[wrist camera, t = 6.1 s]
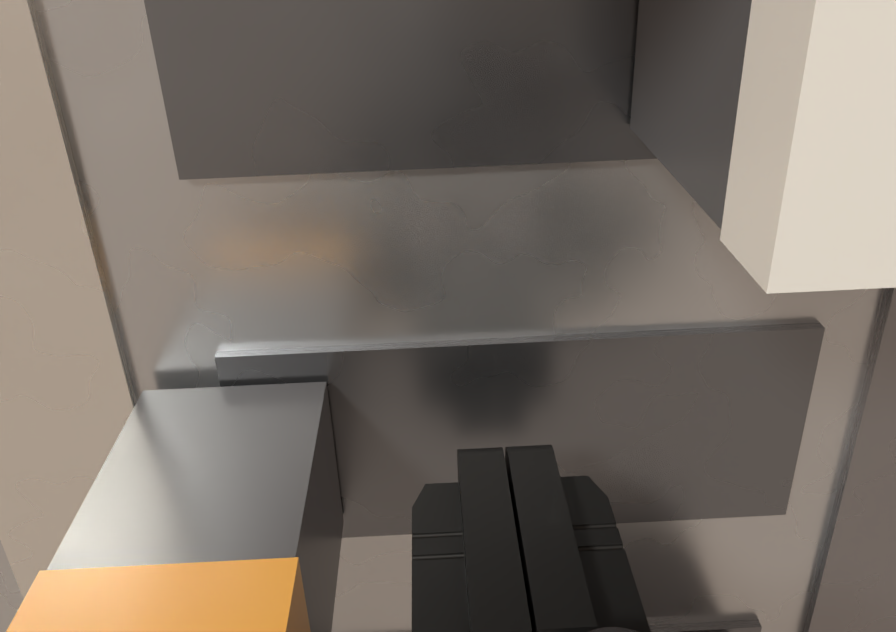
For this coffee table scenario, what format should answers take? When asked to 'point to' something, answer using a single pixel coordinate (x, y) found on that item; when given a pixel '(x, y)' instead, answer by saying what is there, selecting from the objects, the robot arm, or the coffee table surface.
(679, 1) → the toggle
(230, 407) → the toggle
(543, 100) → the breaker panel
